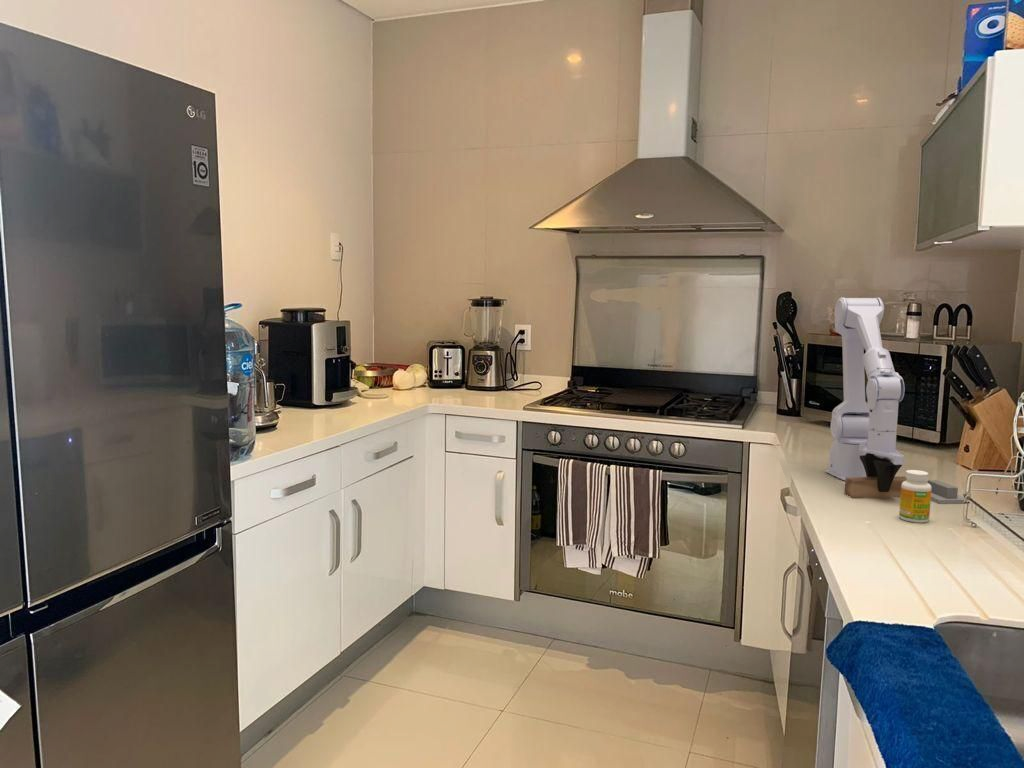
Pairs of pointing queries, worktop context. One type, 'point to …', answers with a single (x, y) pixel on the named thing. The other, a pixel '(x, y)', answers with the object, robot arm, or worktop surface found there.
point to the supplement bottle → (915, 497)
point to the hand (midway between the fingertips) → (878, 489)
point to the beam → (871, 487)
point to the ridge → (944, 493)
